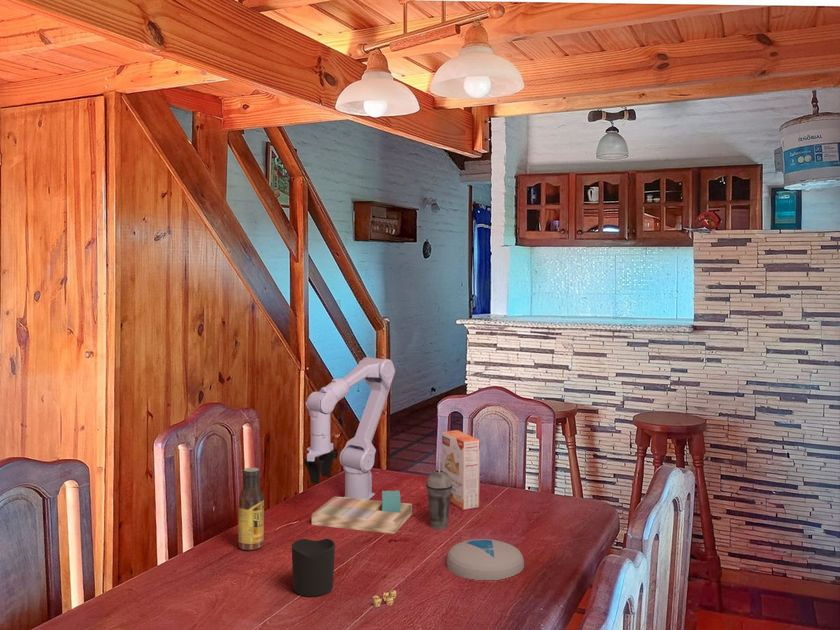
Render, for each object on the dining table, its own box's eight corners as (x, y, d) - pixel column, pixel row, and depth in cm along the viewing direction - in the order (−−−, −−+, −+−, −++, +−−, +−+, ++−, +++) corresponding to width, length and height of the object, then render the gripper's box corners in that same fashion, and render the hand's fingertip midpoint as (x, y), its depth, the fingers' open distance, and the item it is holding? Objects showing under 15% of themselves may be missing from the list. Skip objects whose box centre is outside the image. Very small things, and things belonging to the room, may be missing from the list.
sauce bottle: (257, 552, 182) (257, 474, 181) (234, 550, 184) (233, 472, 182) (268, 543, 189) (267, 467, 188) (245, 541, 190) (244, 465, 189)
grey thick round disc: (461, 586, 165) (461, 564, 164) (437, 555, 183) (437, 535, 182) (536, 577, 170) (537, 556, 169) (506, 548, 188) (506, 529, 187)
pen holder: (314, 576, 169) (314, 533, 168) (343, 587, 163) (343, 543, 162) (282, 589, 162) (282, 545, 161) (311, 602, 156) (311, 556, 155)
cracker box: (440, 497, 228) (441, 430, 226) (457, 495, 230) (458, 429, 229) (462, 511, 215) (462, 440, 214) (479, 508, 218) (480, 438, 216)
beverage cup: (452, 522, 205) (453, 452, 204) (451, 532, 198) (452, 458, 197) (426, 521, 206) (427, 451, 205) (424, 530, 199) (425, 458, 197)
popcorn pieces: (396, 598, 159) (396, 589, 159) (396, 609, 154) (396, 600, 154) (372, 598, 159) (372, 590, 159) (372, 609, 154) (372, 600, 154)
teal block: (381, 511, 211) (382, 490, 211) (399, 511, 211) (399, 490, 211) (382, 517, 206) (382, 496, 206) (400, 517, 206) (400, 496, 206)
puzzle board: (311, 524, 203) (311, 514, 202) (334, 506, 218) (334, 496, 218) (394, 533, 196) (394, 522, 196) (411, 514, 212) (411, 503, 212)
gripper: (317, 427, 220) (317, 472, 221) (296, 438, 206) (297, 485, 207) (339, 429, 218) (339, 474, 219) (320, 439, 204) (320, 487, 205)
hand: (320, 479), depth 213 cm, fingers open, 7 cm apart
